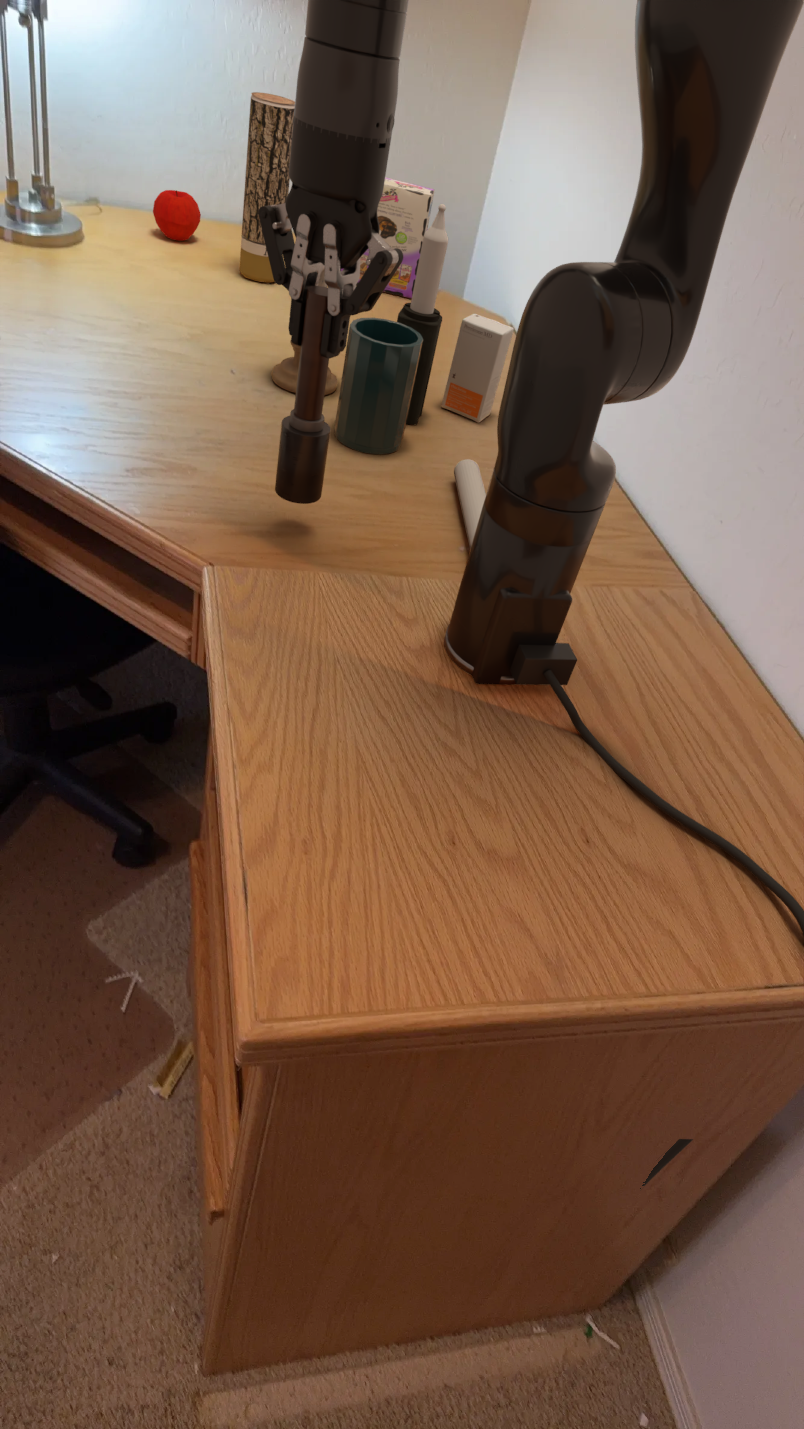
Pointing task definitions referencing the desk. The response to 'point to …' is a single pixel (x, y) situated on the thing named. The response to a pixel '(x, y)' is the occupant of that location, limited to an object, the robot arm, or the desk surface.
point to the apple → (176, 214)
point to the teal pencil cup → (377, 385)
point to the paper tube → (264, 176)
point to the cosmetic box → (477, 367)
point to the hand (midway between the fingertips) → (315, 348)
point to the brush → (306, 413)
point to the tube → (470, 494)
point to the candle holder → (288, 368)
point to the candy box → (402, 230)
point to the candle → (426, 308)
